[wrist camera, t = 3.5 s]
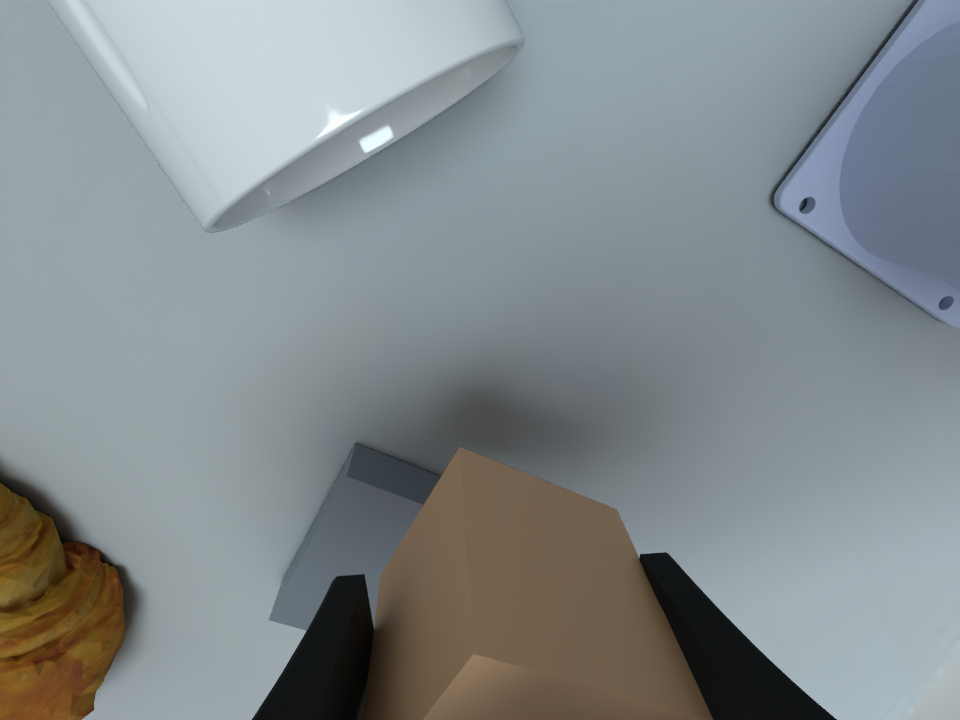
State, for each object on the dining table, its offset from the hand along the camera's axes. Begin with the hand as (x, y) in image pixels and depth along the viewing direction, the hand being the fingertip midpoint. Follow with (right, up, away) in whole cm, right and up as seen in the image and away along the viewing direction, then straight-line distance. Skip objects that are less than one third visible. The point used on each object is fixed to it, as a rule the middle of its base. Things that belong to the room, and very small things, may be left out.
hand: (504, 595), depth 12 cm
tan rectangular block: (0, +1, +1) cm, 2 cm away
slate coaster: (-4, -3, +10) cm, 11 cm away
